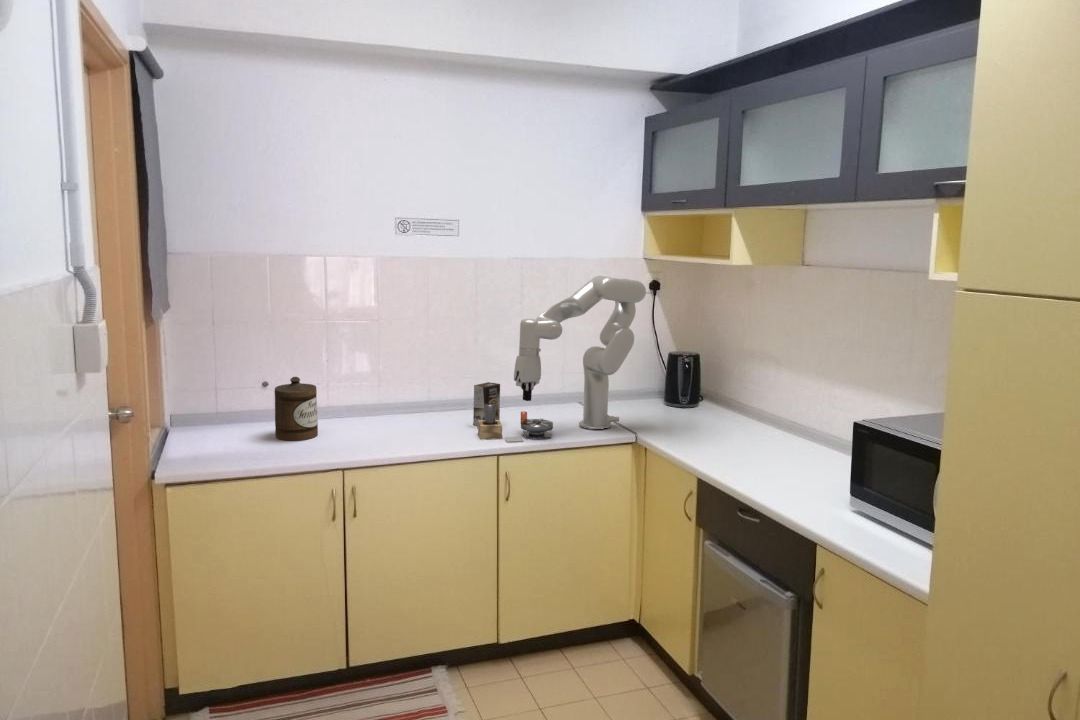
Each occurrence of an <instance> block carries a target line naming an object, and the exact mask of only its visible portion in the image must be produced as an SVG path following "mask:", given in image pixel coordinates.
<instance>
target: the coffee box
mask: <svg viewBox="0 0 1080 720" xmlns="http://www.w3.org/2000/svg"><path fill="white" fill-rule="evenodd" d="M488 403H492V404H496V413H495V420H499V421H500V422H501V420H500V419H501V418H500V417H501V416H500V412H501V411H500V409H501V407H500V406H501V383H496V382H489V381H487V382H483V383H479V384H478V383H477V384H474V385H473V418H472V419H473V420H472V421H473V422H472V423H473V425H474V426H476V425H477V427H478V421H479V420H485V404H488Z"/></svg>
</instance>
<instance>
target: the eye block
mask: <svg viewBox="0 0 1080 720" xmlns="http://www.w3.org/2000/svg"><path fill="white" fill-rule="evenodd" d="M478 434H479V435H478ZM477 435H478V437H479V439H480V440H491V439H490V438H501V439H503V425H502V422H501V420H500V421H499V420H495V425H485V420H479V421H478V426H477Z"/></svg>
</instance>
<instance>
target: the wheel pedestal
mask: <svg viewBox="0 0 1080 720" xmlns="http://www.w3.org/2000/svg"><path fill="white" fill-rule="evenodd" d="M522 433H524V434H523V436H524V437H525V436H526V437H525V438H526V440H534V439H533V438H546V439H552V436H551V435H550V434H549V431H545V432H530V431H525V430H522ZM530 438H532V439H530Z"/></svg>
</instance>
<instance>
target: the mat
mask: <svg viewBox="0 0 1080 720" xmlns="http://www.w3.org/2000/svg"><path fill="white" fill-rule="evenodd" d="M505 439H506V440H505ZM504 440H505V442H506V441H507V442H506V443H524V439H523V437H522V436H504Z"/></svg>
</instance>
